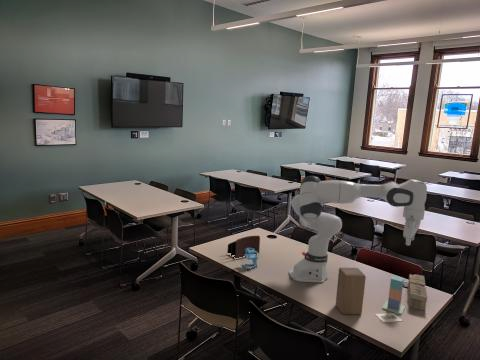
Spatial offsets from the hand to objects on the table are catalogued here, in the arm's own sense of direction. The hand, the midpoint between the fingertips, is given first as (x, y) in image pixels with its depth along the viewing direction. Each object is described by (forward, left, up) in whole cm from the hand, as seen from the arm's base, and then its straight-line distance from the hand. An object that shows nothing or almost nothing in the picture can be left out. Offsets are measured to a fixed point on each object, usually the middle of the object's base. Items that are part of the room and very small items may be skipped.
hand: (409, 242), depth 171 cm
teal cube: (-1, +4, -25) cm, 25 cm away
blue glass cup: (-62, +60, -36) cm, 94 cm away
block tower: (+18, +13, -36) cm, 43 cm away
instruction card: (-9, -4, -36) cm, 37 cm away
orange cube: (-1, +4, -30) cm, 30 cm away
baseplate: (-1, +4, -36) cm, 36 cm away
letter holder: (-63, +80, -36) cm, 108 cm away
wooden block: (-25, +5, -36) cm, 44 cm away
